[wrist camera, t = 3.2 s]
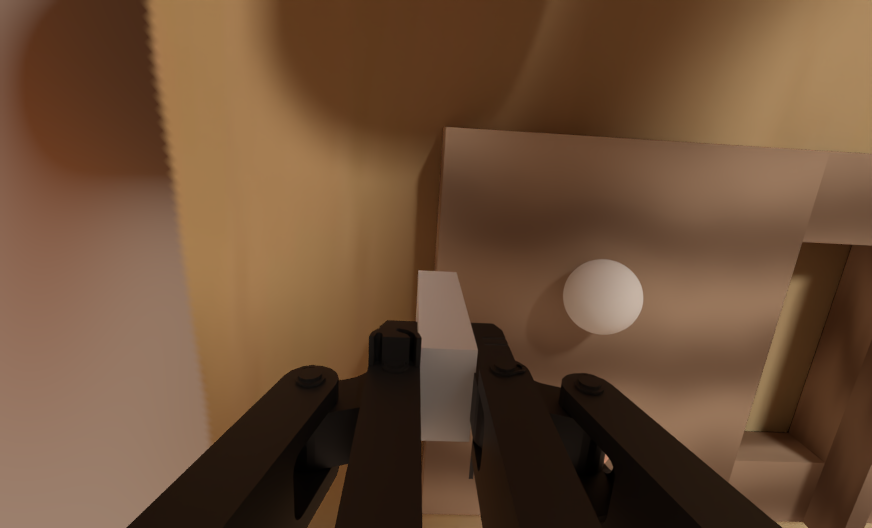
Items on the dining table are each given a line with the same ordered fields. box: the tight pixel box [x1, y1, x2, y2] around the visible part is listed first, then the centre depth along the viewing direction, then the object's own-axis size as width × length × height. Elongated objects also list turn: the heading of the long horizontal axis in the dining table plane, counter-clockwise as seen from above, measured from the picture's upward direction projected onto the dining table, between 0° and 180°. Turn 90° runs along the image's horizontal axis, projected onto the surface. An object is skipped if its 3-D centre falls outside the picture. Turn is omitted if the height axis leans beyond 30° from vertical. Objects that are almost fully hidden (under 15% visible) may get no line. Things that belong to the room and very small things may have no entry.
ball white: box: [563, 259, 643, 335], centre depth 19 cm, size 3×3×3 cm
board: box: [422, 127, 872, 528], centre depth 22 cm, size 20×26×4 cm
